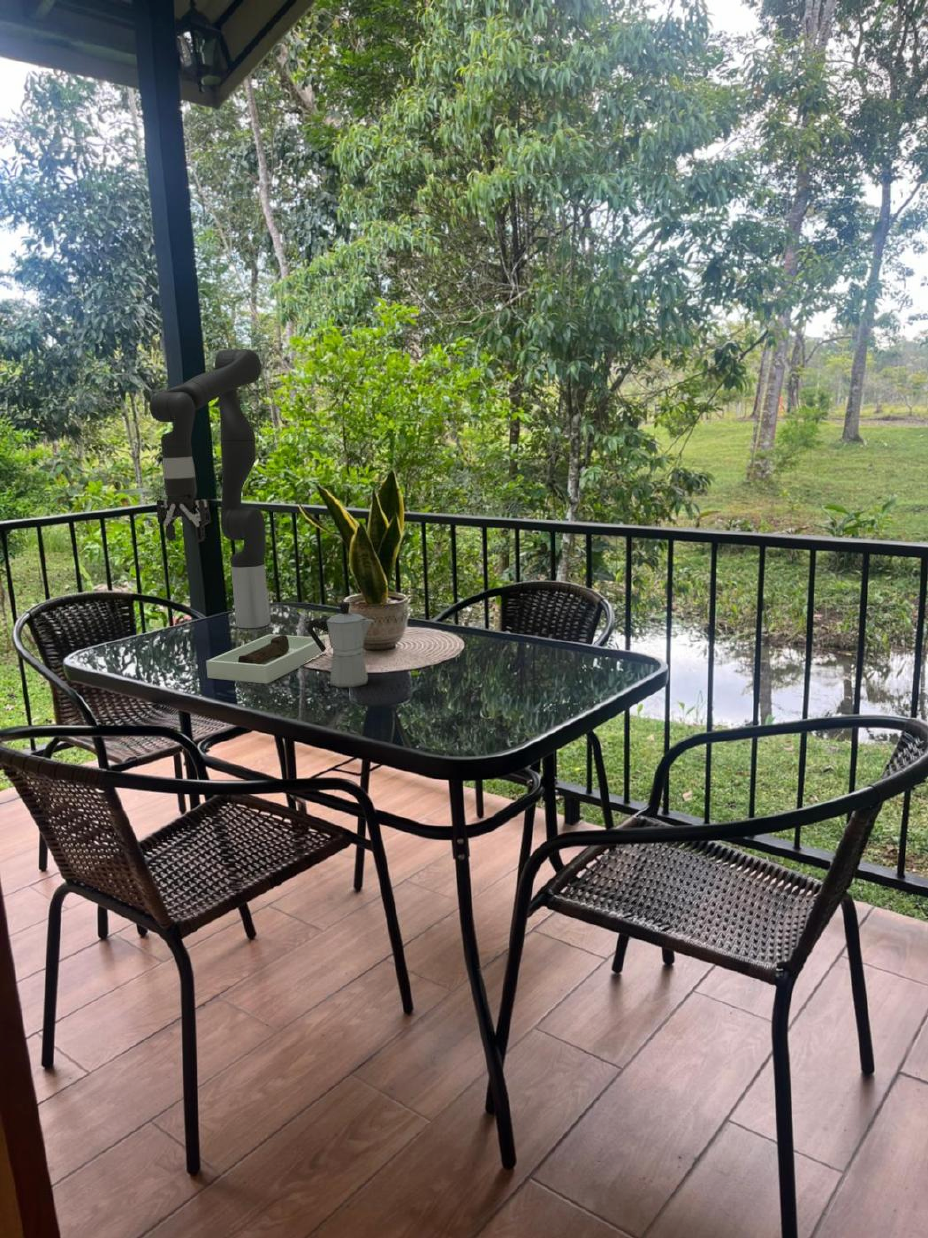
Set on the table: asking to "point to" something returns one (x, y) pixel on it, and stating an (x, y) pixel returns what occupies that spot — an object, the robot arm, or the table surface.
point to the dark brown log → (267, 651)
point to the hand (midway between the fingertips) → (186, 540)
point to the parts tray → (266, 671)
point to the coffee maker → (344, 645)
